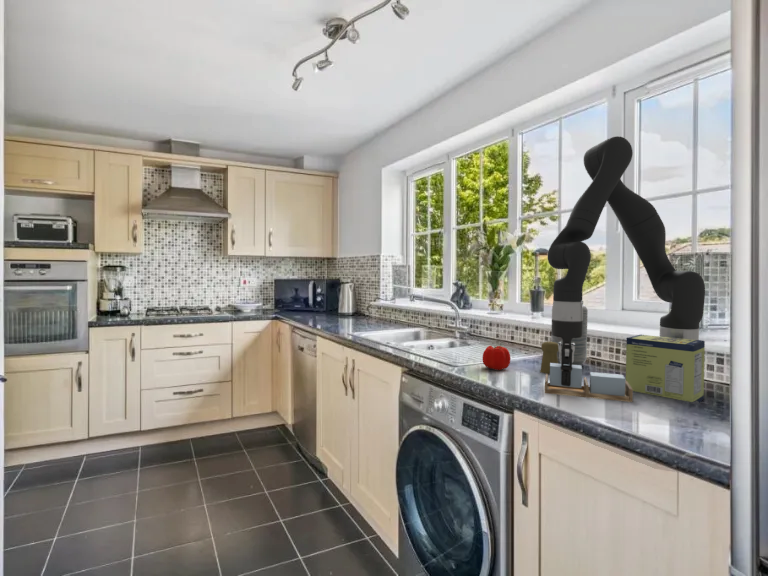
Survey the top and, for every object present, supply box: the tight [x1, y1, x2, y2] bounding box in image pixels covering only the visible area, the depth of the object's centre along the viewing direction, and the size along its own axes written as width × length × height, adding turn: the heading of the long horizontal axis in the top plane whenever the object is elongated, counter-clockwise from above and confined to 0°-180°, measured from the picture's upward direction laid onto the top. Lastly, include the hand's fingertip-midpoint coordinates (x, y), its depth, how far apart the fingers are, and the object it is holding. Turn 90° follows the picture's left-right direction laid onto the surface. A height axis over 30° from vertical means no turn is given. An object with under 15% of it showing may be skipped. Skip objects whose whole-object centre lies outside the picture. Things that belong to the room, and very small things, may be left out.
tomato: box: [482, 345, 511, 371], centre depth 146 cm, size 9×9×8 cm
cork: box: [539, 340, 559, 375], centre depth 135 cm, size 6×6×11 cm
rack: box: [544, 373, 634, 403], centre depth 112 cm, size 20×9×4 cm, turn 68°
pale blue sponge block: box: [589, 371, 626, 396], centre depth 110 cm, size 8×4×5 cm, turn 68°
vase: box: [550, 300, 589, 367], centre depth 153 cm, size 12×12×23 cm
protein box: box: [625, 334, 706, 404], centre depth 113 cm, size 10×16×16 cm
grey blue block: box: [549, 363, 583, 388], centre depth 114 cm, size 8×4×5 cm, turn 69°
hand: (565, 382), depth 114 cm, fingers closed on grey blue block, 4 cm apart
